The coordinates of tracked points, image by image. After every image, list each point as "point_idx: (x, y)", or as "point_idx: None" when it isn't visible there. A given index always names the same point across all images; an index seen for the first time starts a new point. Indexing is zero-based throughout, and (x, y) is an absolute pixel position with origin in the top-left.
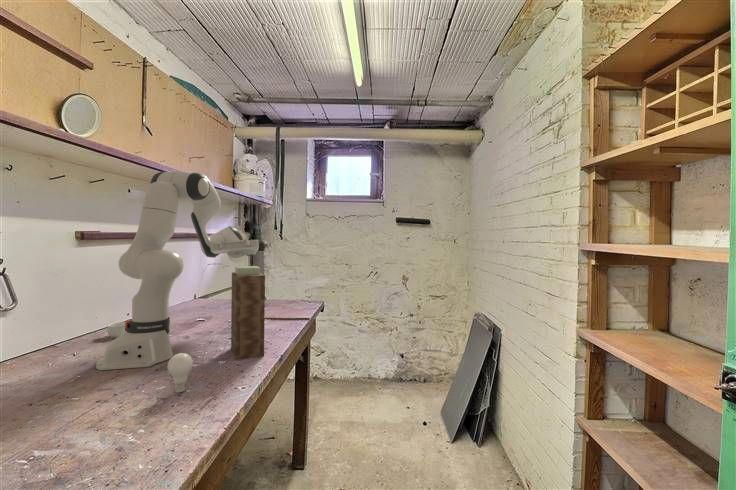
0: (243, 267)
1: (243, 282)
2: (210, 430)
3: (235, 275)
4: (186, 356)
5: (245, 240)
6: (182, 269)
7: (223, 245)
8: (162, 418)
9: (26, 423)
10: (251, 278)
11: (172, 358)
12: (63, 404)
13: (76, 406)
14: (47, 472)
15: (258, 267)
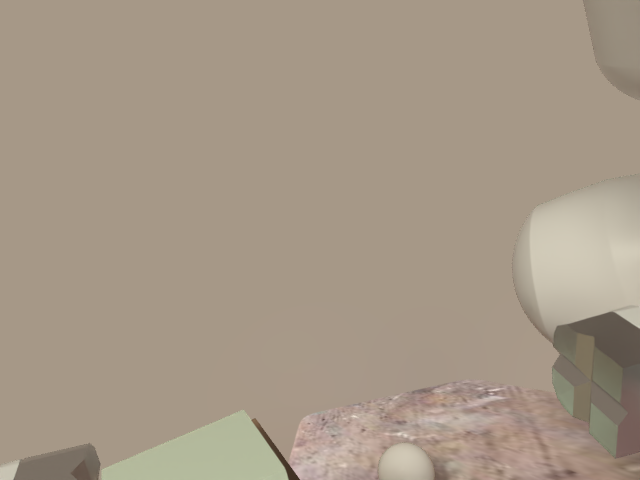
0: (212, 443)
1: None
2: (301, 467)
3: (264, 432)
4: (383, 453)
5: (48, 458)
6: (531, 315)
7: (573, 398)
8: None
9: None
10: None
11: (411, 443)
12: None
13: (589, 453)
14: (446, 391)
15: (110, 474)
